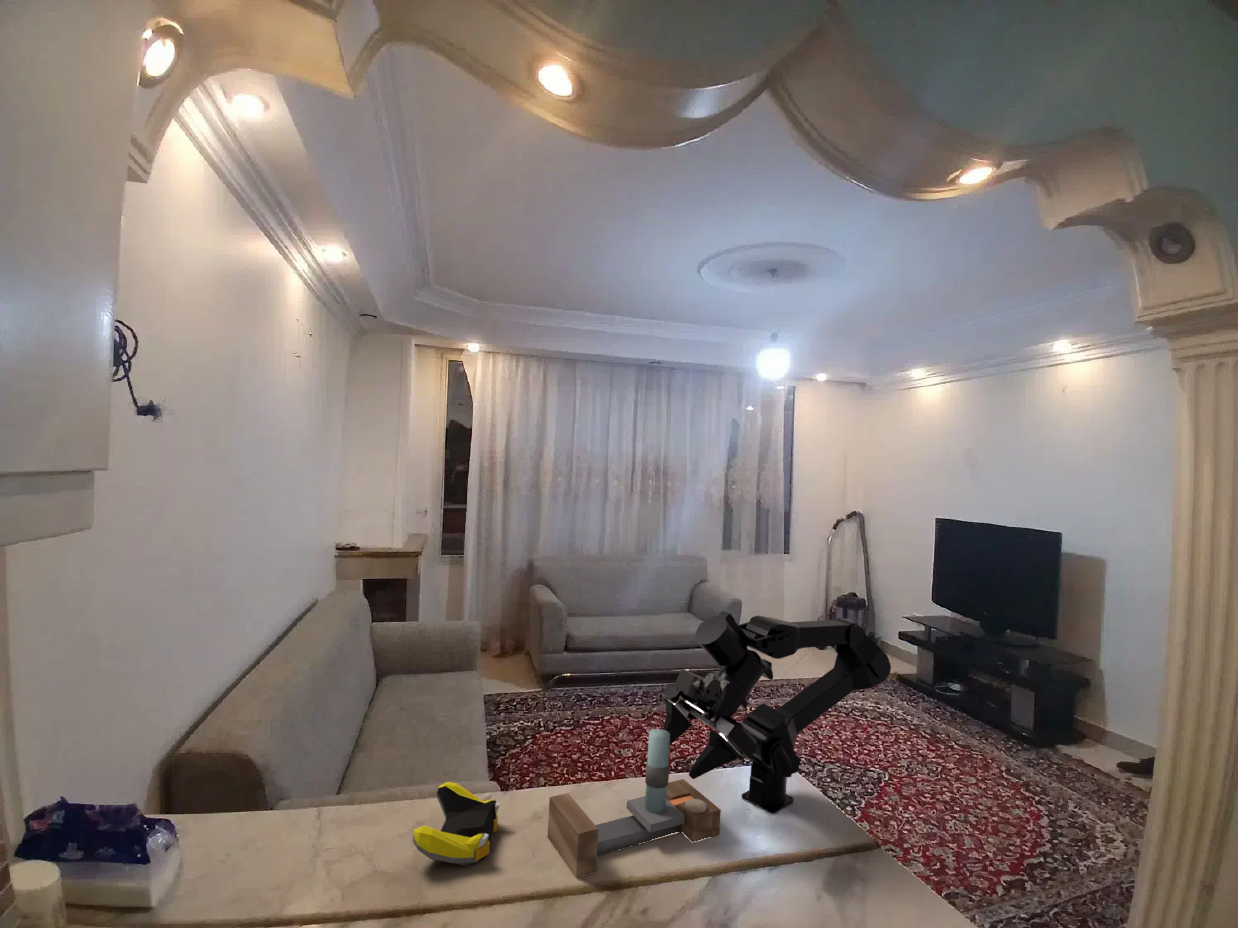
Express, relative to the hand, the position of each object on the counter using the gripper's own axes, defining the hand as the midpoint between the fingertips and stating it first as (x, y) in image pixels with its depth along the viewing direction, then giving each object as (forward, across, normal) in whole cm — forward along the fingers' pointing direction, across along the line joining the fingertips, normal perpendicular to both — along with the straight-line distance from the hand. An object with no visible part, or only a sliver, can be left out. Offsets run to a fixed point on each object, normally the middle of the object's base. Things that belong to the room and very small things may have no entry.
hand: (673, 763), depth 99 cm
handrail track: (+12, 0, +2) cm, 12 cm away
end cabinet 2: (+5, 0, +9) cm, 10 cm away
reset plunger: (+4, 0, +7) cm, 8 cm away
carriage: (+7, 0, +3) cm, 8 cm away
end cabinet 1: (+19, 0, -5) cm, 20 cm away
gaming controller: (+29, -9, -15) cm, 33 cm away
